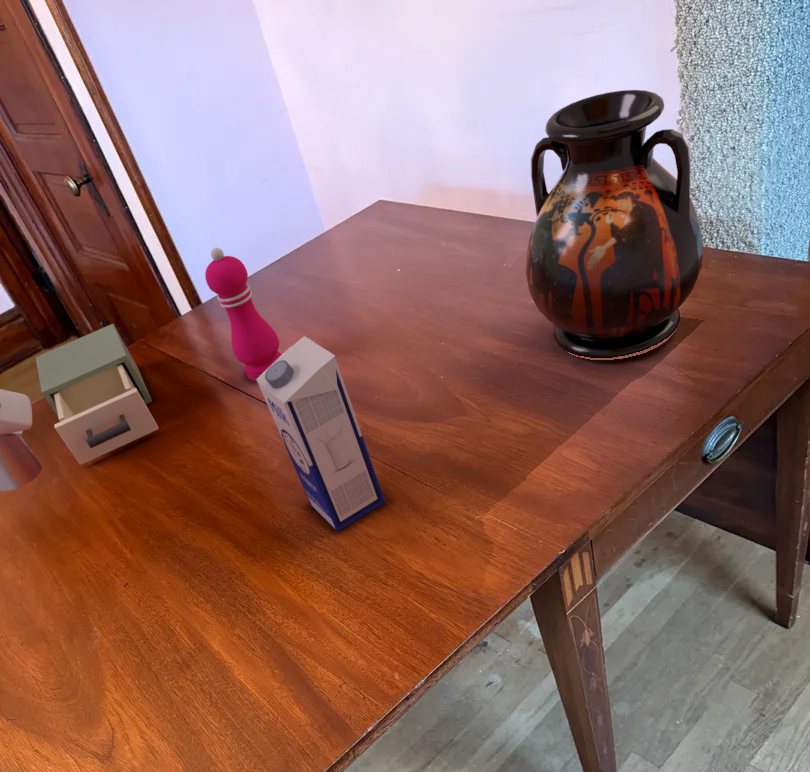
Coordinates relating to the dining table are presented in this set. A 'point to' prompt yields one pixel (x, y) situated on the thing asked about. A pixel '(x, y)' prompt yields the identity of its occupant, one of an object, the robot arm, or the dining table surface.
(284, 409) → the milk carton
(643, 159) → the amphora vase
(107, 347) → the cabinet
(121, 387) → the drawer
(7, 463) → the can
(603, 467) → the dining table surface
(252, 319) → the pepper mill
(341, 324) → the dining table surface
